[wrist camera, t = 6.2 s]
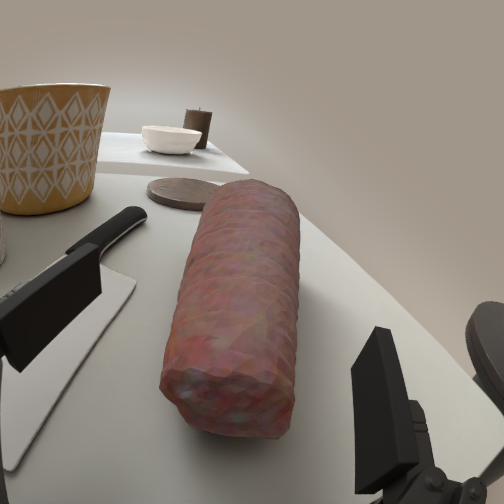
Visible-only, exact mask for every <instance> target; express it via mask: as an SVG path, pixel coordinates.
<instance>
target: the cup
mask: <svg viewBox="0 0 504 504" xmlns="http://www.w3.org/2000/svg"><path fill="white" fill-rule="evenodd" d="M4 257H5V244H4V237H3V231H2V223H1V214H0V265H1V264H2V262H3V260H4Z"/></svg>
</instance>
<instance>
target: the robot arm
mask: <svg viewBox="0 0 504 504" xmlns="http://www.w3.org/2000/svg"><path fill="white" fill-rule="evenodd" d="M100 294H102V286H101V273H100V254H99V246H97V245H94V244H91V243H88V242H87V243H86V244H84V245H83V246H81V247H79V248H78V249H76V250H75V251H73V252H72V253H70V254H69V255H67V256H66V257H64V258H63V259H61V260H60V261H58V262H57V263H55V264H54V265H52V266H51V267H49V268H48V269H46V270H45V271H44V272H42V273H41V274H39V275H38V276H36V277H35V278H34V279H32V280H29V281H26V282H24V283H21V284H19V285H18V286H16V287H15V288H14V289H12V291H10V292H8V293H7V294H6V296H3V297H2V298H0V404H1V383H2V371H3V361H2V359H1V358H2V357H3V356H4V355H5V356H6V359H7V361H8V363H9V365H10V366H12V367H13V368H14V369H15V370H17V371H18V372H19V373H21V372H22V371H23V370H24V369H25V368H26V367H27V366H28V365H29V364H30V363H31V362H32V361H33V360H34V359H35V358H36V357H37V355H38V354H39V353H40V352H41V351H42V350H43V349H44V348H45V347H46V346H47V345H48V344H49V343H50V342H51V341H52V340H53V339H54V338H55V337H56V336H57V335H58V334H59V333H60V332H61V331H62V330H63V329H64V328H65V327H66V326H67V325H68V324H70V323H71V322H72V321H73V320H74V319H75V318H76V317H77V316H78V315H79V314H80V313H81V312H82V311H83V310H84V309H85V308H86V307H87V306H88V305H90V304H91V303H92V302H93V301H94V300H95V299H96V298H97V297H98V296H99V295H100ZM351 377H352V391H353V407H354V429H355V494H375V493H377V492H378V491H380V490H381V489H383V496H382V497H380V498H378V499H377V500H375V501H373V502H371V503H370V504H485V502H486V497H487V489H486V485H485V483H484V482H483V480H481V479H480V478H477V477H473V478H470V479H468V480H467V481H465V482H464V483H460V482H456V481H452V480H448V479H447V477H446V474H445V473H444V472H443V471H442V470H441V469H440V468H438V467H435V464H434V458H433V453H432V447H431V442H430V437H429V433H428V428H427V424H426V419H425V414H424V411H423V409H422V407H421V406H420V404H419V403H418V401H417V400H408V395H407V391H406V387H405V382H404V378H403V374H402V370H401V366H400V363H399V359H398V355H397V351H396V348H395V344H394V341H393V337H392V334H391V331H390V329H386V328H382V327H377V326H375V328H374V330H373V331H372V333H371V335H370V337H369V339H368V340H367V342H366V344H365V346H364V347H363V349H362V351H361V353H360V354H359V356H358V358H357V359H356V361H355V363H354V364H353V366H352V368H351ZM0 504H9V502H8V497H7V491H6V485H5V478H4V470H3V461H2V449H1V429H0Z"/></svg>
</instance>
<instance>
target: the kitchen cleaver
mask: <svg viewBox="0 0 504 504" xmlns="http://www.w3.org/2000/svg"><path fill="white" fill-rule="evenodd" d="M146 219H147V214H146V212H145V211H144V210H143V209H142V208H140V207H137V206H130V207H127V208H125V209H124V210H122V211H121V212H120V213H118V214H117V215H115V216H114V217H112V218H111V219H109V220H108V221H107V222H105V223H104V224H102V225H101V226H99V227H98V228H96V229H95V230H93V231H92V232H90V233H89V234H88V235H86V236H85V237H83V238H82V239H81V240H79V241H78V242H77V243H75V244H74V245H73V246H71V247H70V248H69V249H68V250H67V251H66V253H65V254H64V255H63V256H61V257H60V258H58V259H57V260H56V261H54V262H53V263H52V264H50V265H49V266H48V267H46V268H45V269H44V270H42V271H41V272H40V273H38V274H37V275H36V276H38V275H39V274H41V273H42V272H44V271H45V270H46V269H48V268H49V267H51V266H52V265H54V264H55V263H57V262H58V261H60V260H61V259H63V258H64V257H66V256H67V255H69V254H70V253H72V252H73V251H75V250H76V249H78V248H79V247H81V246H83V245H84V244H86V243H87V242H88V243H91V244H94V245H97V246H99V254H100V257H101V255H102V254H103V252H104V251H105V250H106V249H107V248H109V247H110V246H111V245H112V244H113V243H115V242H116V241H117V240H118V239H119V238H121V237H122V236H123V235H124V234H126V233H127V232H128V231H130V230H131V229H132V228H133V227H135V226H136V225H138V224H140V223H142V222H144V221H146ZM100 273H101V286H102V294H100V295H99V296H98V297H97V298H96V299H95V300H94V301H93V302H92V303H91V304H90V305H88V306H87V307H86V308H85V309H84V310H83V311H82V312H81V313H80V314H79V315H78V316H77V317H76V318H75V319H74V320H73V321H72V322H71V323H70V324H68V325H67V326H66V327H65V328H64V329H63V330H62V331H61V332H60V333H59V334H58V335H57V336H56V337H55V338H54V339H53V340H52V341H51V342H50V343H49V344H48V345H47V346H46V347H45V348H44V349H43V350H42V351H41V352H40V353H39V354H38V355H37V357H36V358H35V359H34V360H33V361H32V362H31V363H30V364H29V365H28V366H27V367H26V368H25V369H24V370H23V371H22V372H21V373H19V372H18V371H17V370H15V369H14V368H13V367H12V366H10V365H9V363H8V361H7V359H6V356H5V355H4V356H3V357H2V358H1V359H2V361H3V371H2V383H1V404H0V429H1V449H2V461H3V468H4V469H6V470H7V471H10V472H12V471H14V470H15V469H16V467H17V465H18V463H19V462H20V460H21V458H22V457H23V455H24V453H25V452H26V450H27V448H28V447H29V445H30V444H31V442H32V440H33V439H34V437H35V436H36V434H37V433H38V431H39V429H40V428H41V426H42V424H43V423H44V421H45V420H46V418H47V416H48V415H49V413H50V411H51V410H52V408H53V406H54V405H55V403H56V402H57V400H58V398H59V397H60V395H61V394H62V392H63V390H64V389H65V387H66V386H67V384H68V383H69V381H70V380H71V378H72V377H73V375H74V374H75V372H76V371H77V369H78V368H79V366H80V365H81V363H82V362H83V360H84V359H85V357H86V356H87V354H88V353H89V351H90V350H91V348H92V347H93V346H94V344H95V343H96V341H97V340H98V338H99V337H100V336H101V334H102V333H103V331H104V330H105V329H106V327H107V326H108V325H109V323H110V322H111V321H112V319H113V318H114V317H115V315H116V314H117V313H118V311H119V310H120V309H121V307H122V306H123V305H124V303H125V302H126V300H127V299H128V298H129V296H130V295H131V293H132V291H133V290H134V288H135V285H136V280H135V278H133V277H130V276H127V275H124V274H121V273H119V272H116V271H113V270H111V269H109V268H106V267H105V266H103V265H102V264H101V263H100ZM36 276H34V277H33V278H32V279H34V278H35V277H36ZM32 279H31V280H32Z"/></svg>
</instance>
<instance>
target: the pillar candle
mask: <svg viewBox="0 0 504 504" xmlns="http://www.w3.org/2000/svg"><path fill="white" fill-rule="evenodd" d="M211 116H212V112H206V111H200V109H199V111H198V110H188V109H186V115H185V120H184V125H183V128H184V129H190V130H195V131H199V132H201V133H202V135H201V138H200V140H199V142H198V143H197V144H196V146H195V148H203V149H205V148H206V144H207V138H208V132H209V127H210V122H211Z"/></svg>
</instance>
